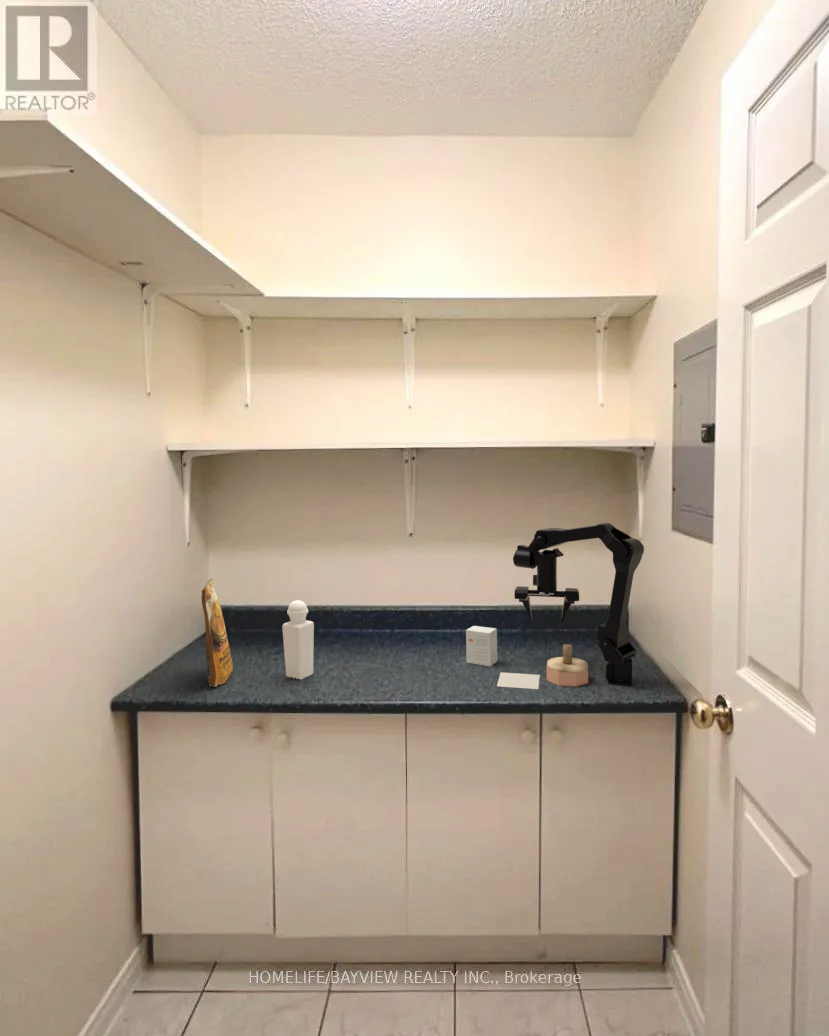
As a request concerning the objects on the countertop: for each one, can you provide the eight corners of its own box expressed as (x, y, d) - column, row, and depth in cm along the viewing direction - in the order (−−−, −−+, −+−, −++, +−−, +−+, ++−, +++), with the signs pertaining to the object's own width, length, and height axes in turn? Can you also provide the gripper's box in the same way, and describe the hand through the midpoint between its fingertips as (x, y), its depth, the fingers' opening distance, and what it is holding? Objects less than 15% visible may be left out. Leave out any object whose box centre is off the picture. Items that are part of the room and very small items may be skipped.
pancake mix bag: (197, 691, 166) (192, 589, 163) (214, 668, 184) (209, 576, 182) (222, 690, 166) (218, 588, 164) (236, 667, 185) (233, 575, 182)
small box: (497, 662, 186) (497, 628, 185) (490, 667, 181) (490, 632, 180) (473, 658, 190) (473, 625, 189) (465, 663, 185) (465, 629, 184)
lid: (587, 660, 174) (587, 640, 173) (588, 674, 163) (589, 652, 163) (547, 658, 176) (547, 638, 176) (546, 671, 166) (546, 650, 165)
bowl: (586, 674, 174) (587, 660, 174) (588, 688, 164) (588, 674, 163) (547, 672, 177) (547, 658, 176) (546, 685, 166) (546, 671, 166)
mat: (539, 676, 173) (539, 674, 173) (538, 690, 163) (538, 689, 163) (500, 673, 176) (500, 672, 176) (496, 687, 165) (496, 686, 165)
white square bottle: (300, 680, 172) (298, 604, 170) (283, 676, 176) (280, 601, 174) (315, 673, 178) (313, 599, 176) (298, 670, 181) (296, 597, 179)
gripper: (578, 566, 188) (578, 616, 190) (517, 565, 193) (516, 614, 194) (579, 573, 177) (578, 626, 179) (514, 571, 182) (514, 623, 183)
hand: (546, 621), depth 184 cm, fingers open, 9 cm apart
